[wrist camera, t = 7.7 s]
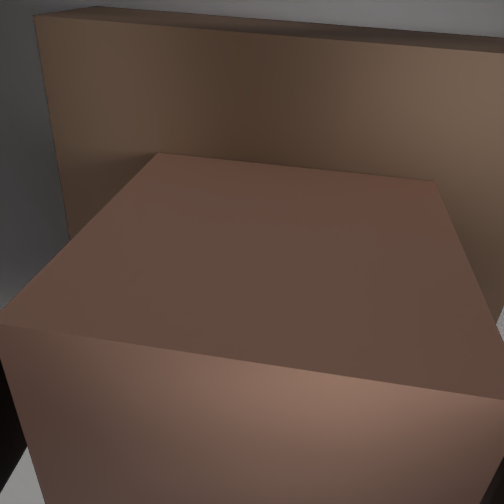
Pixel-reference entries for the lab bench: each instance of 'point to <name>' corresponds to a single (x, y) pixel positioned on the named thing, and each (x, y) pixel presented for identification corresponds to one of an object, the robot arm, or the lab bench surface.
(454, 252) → the terracotta cube
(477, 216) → the walnut block
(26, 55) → the lab bench surface
